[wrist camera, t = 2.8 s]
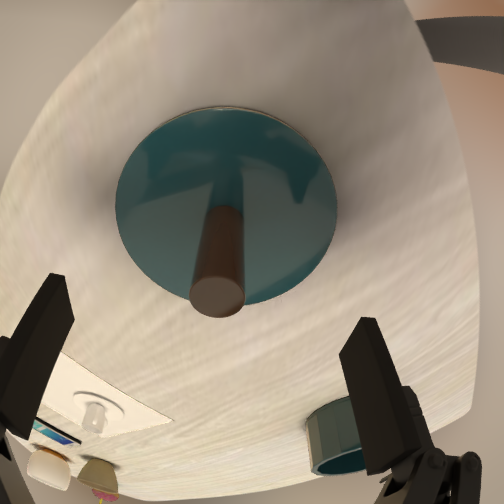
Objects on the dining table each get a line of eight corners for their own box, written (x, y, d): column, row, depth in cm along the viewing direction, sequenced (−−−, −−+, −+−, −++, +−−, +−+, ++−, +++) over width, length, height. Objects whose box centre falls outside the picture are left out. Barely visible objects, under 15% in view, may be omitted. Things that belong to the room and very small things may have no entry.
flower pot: (94, 453, 52) (89, 480, 46) (129, 468, 56) (125, 494, 50) (75, 454, 55) (69, 478, 49) (107, 469, 59) (103, 492, 53)
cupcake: (89, 476, 69) (84, 507, 59) (104, 477, 66) (98, 511, 56) (110, 485, 73) (106, 515, 63) (125, 485, 70) (121, 518, 61)
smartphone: (17, 409, 40) (81, 445, 47) (18, 405, 41) (82, 442, 48) (10, 414, 43) (69, 448, 49) (11, 411, 43) (70, 445, 50)
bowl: (367, 381, 34) (381, 435, 28) (411, 403, 39) (424, 444, 33) (286, 424, 39) (290, 471, 33) (341, 439, 45) (348, 477, 38)
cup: (50, 445, 53) (42, 477, 45) (82, 464, 60) (77, 494, 52) (25, 440, 55) (17, 469, 47) (55, 459, 62) (49, 486, 54)
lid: (208, 57, 15) (182, 53, 9) (373, 206, 21) (425, 280, 14) (88, 227, 21) (38, 302, 14) (238, 322, 27) (238, 405, 20)
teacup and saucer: (104, 422, 40) (99, 444, 37) (62, 398, 37) (55, 420, 33) (135, 413, 38) (130, 438, 34) (88, 385, 34) (80, 412, 30)
